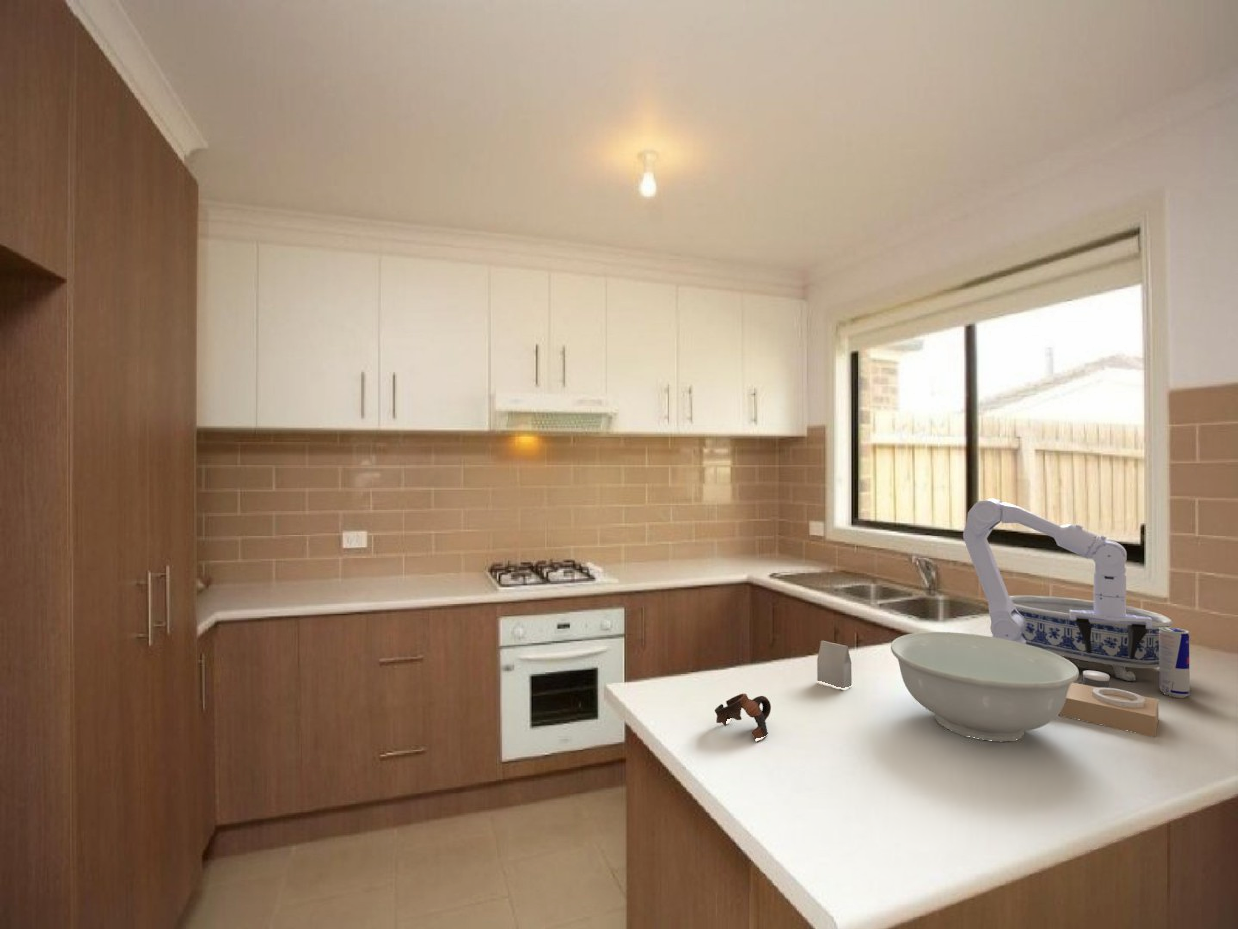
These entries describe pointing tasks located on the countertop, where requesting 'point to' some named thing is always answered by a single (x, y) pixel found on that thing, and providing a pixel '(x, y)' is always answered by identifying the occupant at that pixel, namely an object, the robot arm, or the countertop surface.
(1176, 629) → the white and blue canister
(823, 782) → the countertop surface
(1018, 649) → the bowl
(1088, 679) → the white domed push button
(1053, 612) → the decorative bowl
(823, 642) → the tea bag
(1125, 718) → the tan flat ringed block
